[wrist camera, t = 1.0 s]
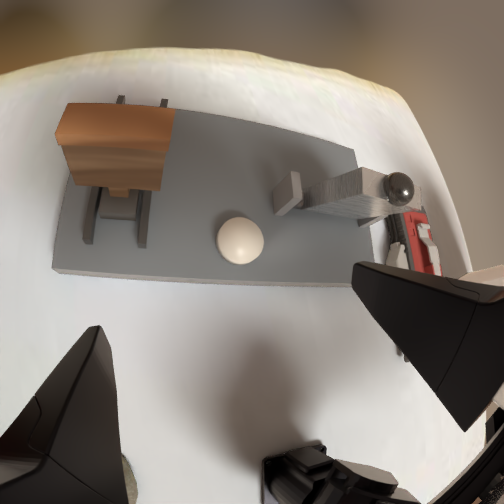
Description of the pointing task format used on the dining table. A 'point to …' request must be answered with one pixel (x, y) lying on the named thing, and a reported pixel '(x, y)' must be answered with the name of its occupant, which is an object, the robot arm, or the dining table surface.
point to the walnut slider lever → (116, 151)
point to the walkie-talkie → (412, 244)
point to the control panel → (221, 213)
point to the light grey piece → (362, 195)
